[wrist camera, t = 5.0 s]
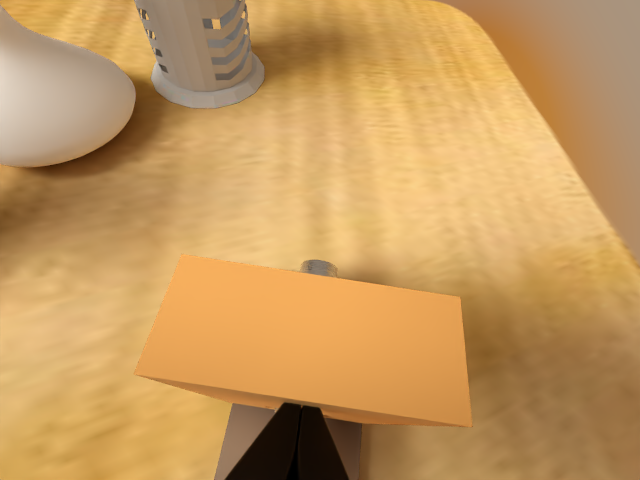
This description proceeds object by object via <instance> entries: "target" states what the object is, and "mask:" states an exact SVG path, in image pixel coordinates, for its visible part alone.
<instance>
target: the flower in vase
mask: <svg viewBox="0 0 640 480" xmlns="http://www.w3.org/2000/svg"><path fill="white" fill-rule="evenodd" d="M135 100H136V92H135V87H134V85H133V82H132V81H131V79H130V78H129V77H128V76H127V75H126V74H125V73H124V72H123V71H122V70H121V69H120V68H119V67H118V66H117V65H116V64H115V63H114V62H112V61H111V60H109V59H107V58H105V57H103V56H101V55H99V54H97V53H94V52H92V51H90V50H88V49H85V48H82V47H79V46H76V45H73V44H70V43H67V42H64V41H60V40H57V39H54V38H50V37H47V36H44V35H41V34H38V33H35V32H33V31H31V30H29V29H27V28H25V27H23V26H22V25H21V24H20V23H18V22H17V21H16V20H14V19H13V18H12V17H11V16H10V15H9V14H8V13H7V12H6V10H5V9H4V8H3V7H2V6H1V5H0V164H1V165H6V166H12V167H39V166H48V165H53V164H58V163H62V162H66V161H69V160H73V159H75V158H78V157H81V156H83V155H86V154H88V153H90V152H92V151H94V150H96V149H98V148H99V147H101V146H103V145H104V144H106V143H107V142H109V141H110V140H111V139H113V138H114V137H115V136H116V135H117V134H118V133H119V132H120V131H121V130H122V129H123V128H124V127H125V125H126V124H127V122H128V121H129V119H130V117H131V115H132V112H133V108H134V104H135Z"/></svg>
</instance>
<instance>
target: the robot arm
mask: <svg viewBox="0 0 640 480" xmlns="http://www.w3.org/2000/svg"><path fill="white" fill-rule="evenodd" d="M224 480H350V479H349V476H348V474H347V471H346V469H345V466H344V464H343V462H342V459H341V457H340V454H339V452H338V450H337V447H336V445H335V442H334V440H333V437H332V435H331V433H330V430H329V428H328V425H327V423H326V420H325V418H324V416H323V413H322V411H321V409H320V408H319V407H313V406H306V405H303V406H302V408H301V405H299V404H293V403H287V402H284V403H283V404H282V405H281V406H280V407H279V409H278V410H277V411H276V413H275V414H274V415H273V416H272V418H271V419H270V420H269V422H268V423H267V424H266V426H265V427H264V428H263V429H262V431H261V432H260V433H259V435H258V436H257V437H256V439H255V440H254V441H253V443H252V444H251V445H250V446H249V448H248V449H247V450H246V452H245V453H244V454H243V456H242V457H241V458H240V459H239V461H238V462H237V463H236V465H235V466H234V467H233V469H232V470H231V471H230V472H229V474H228V475H227V476H226V478H225V479H224Z"/></svg>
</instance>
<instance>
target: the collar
mask: <svg viewBox="0 0 640 480" xmlns="http://www.w3.org/2000/svg"><path fill="white" fill-rule="evenodd" d="M134 375H138V376H141V377H145V378H148V379H151V380H155V381H158V382H162V383H165V384H169V385H172V386H175V387H179V388H182V389H186V390H189V391H192V392H196V393H199V394H203V395H206V396H210V397H213V398H216V399H220V400H223V401H227V402H230V403H235V404H242V405H248V406H255V407H261V408H267V409H274V410H275V408H279V407H280V406H281V405H282V404H283V403H284V402H287V403H293V404H299V405H301V408H302V406H303V405H306V406H313V407H319V408H320V409H321V411H322V413H323V416H324V417H325V418H332V419H338V420H344V421H351V422H357V423H364V424H395V425H425V426H456V427H473V426H472V415H471V405H470V394H469V384H468V373H467V362H466V352H465V341H464V330H463V320H462V309H461V299H460V297H457V296H451V295H444V294H438V293H431V292H425V291H418V290H412V289H405V288H399V287H392V286H386V285H379V284H373V283H366V282H360V281H353V280H347V279H340V278H334V277H327V276H321V275H314V274H308V273H301V272H295V271H288V270H282V269H275V268H269V267H262V266H256V265H249V264H243V263H236V262H230V261H223V260H217V259H210V258H204V257H197V256H191V255H184V254H182V255H181V257H180V260H179V262H178V265H177V267H176V270H175V272H174V275H173V277H172V280H171V282H170V285H169V287H168V290H167V292H166V295H165V297H164V300H163V302H162V305H161V307H160V310H159V312H158V314H157V317H156V319H155V322H154V324H153V327H152V329H151V332H150V334H149V337H148V339H147V342H146V344H145V347H144V349H143V352H142V354H141V357H140V359H139V362H138V364H137V367H136V369H135V372H134Z"/></svg>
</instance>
